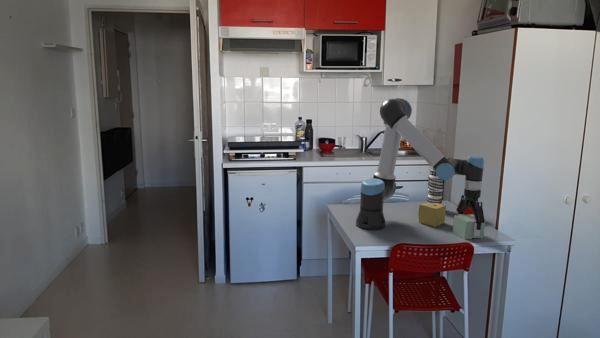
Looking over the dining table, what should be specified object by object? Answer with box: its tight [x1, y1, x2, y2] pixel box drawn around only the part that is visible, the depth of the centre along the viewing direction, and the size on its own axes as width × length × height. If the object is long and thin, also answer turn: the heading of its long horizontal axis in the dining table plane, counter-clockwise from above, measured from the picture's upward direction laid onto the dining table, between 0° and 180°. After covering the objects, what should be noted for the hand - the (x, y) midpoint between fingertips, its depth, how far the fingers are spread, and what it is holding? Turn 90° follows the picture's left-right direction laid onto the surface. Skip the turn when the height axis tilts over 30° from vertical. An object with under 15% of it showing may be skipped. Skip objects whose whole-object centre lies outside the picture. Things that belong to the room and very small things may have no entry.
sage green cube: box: [452, 214, 486, 240], centre depth 220 cm, size 10×10×9 cm
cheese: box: [418, 202, 447, 227], centre depth 238 cm, size 10×11×10 cm
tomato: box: [456, 207, 476, 215], centre depth 246 cm, size 11×12×9 cm
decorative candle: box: [426, 167, 445, 204], centre depth 262 cm, size 9×9×25 cm
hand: (468, 231), depth 220 cm, fingers open, 13 cm apart
